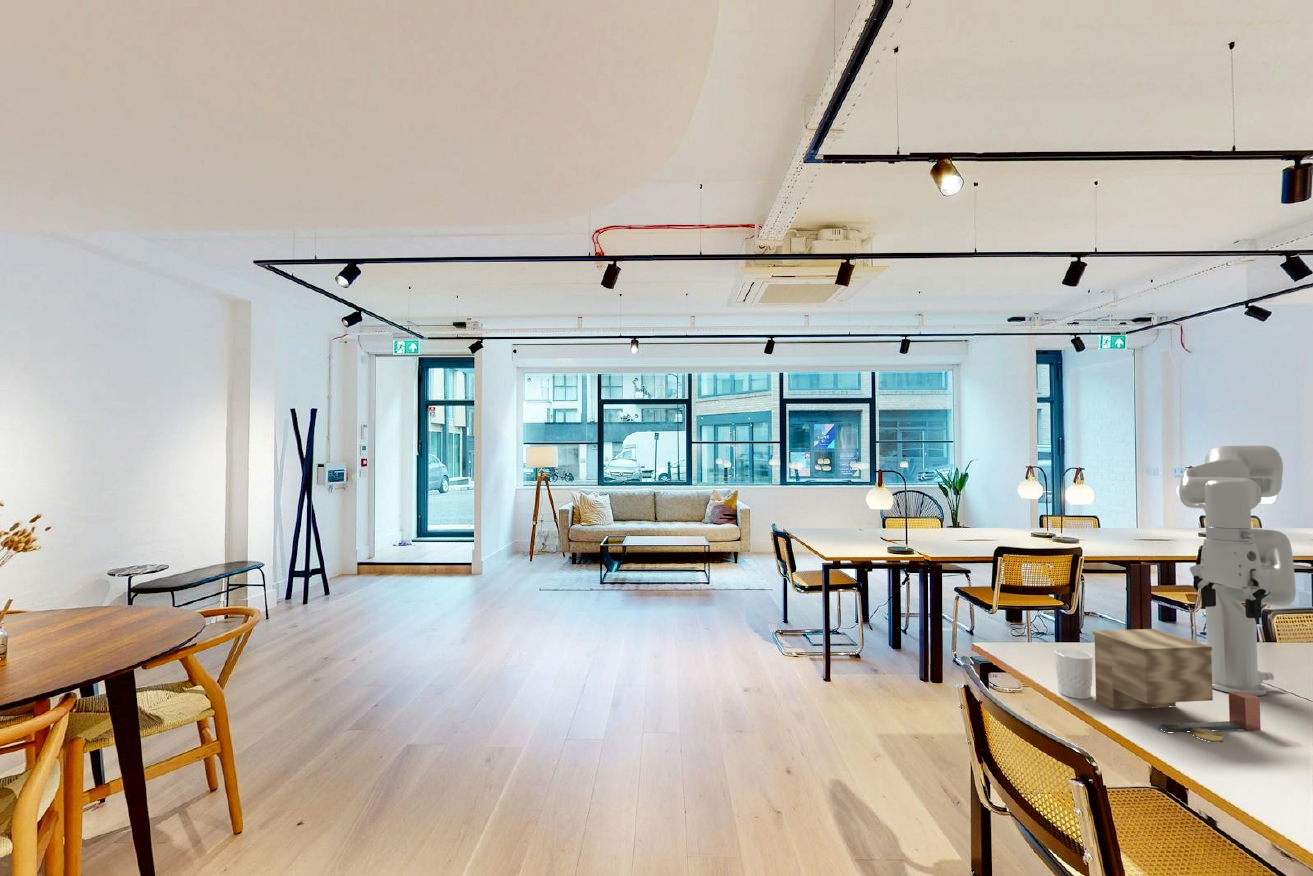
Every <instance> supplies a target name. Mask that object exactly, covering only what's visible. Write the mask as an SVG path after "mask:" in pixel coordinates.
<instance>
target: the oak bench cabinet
mask: <svg viewBox="0 0 1313 876" xmlns="http://www.w3.org/2000/svg"><path fill="white" fill-rule="evenodd" d="M1093 635H1094V668H1095V669H1094V670H1095V676H1094V677H1095V702H1096V703H1098V704H1100V705H1103V706H1104V705H1105V706H1104V707H1106V706H1107V707H1106V708H1108V707H1109V708H1108V709H1110V708H1111V709H1110V710H1112V711H1116V710H1117V711H1118V710H1119V711H1120V709H1123V710H1138V708H1145V709H1160V708H1159V707H1167V708H1170V707H1169V706H1176V705H1177V704H1176V703H1185V702H1186V703H1187V702H1207V701H1213V699H1214V698H1213V697H1214V695H1213V693H1214V692H1213V688H1212V656H1211V650H1212V647H1211V646H1208V645H1207V644H1204V643H1201V642H1198V641H1195V640H1192V639H1188V638H1185V637H1183V636H1182V637H1181V636H1178V635H1176V634H1173V633H1168V632H1165V631H1163V630H1159V629H1157V628H1144V629H1139V628H1137V629H1113V630H1112V629H1110V630H1109V629H1108V630H1104V629H1103V630H1092V636H1093ZM1152 707H1153V708H1152ZM1155 707H1157V708H1155ZM1176 707H1177V706H1176Z"/></svg>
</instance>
